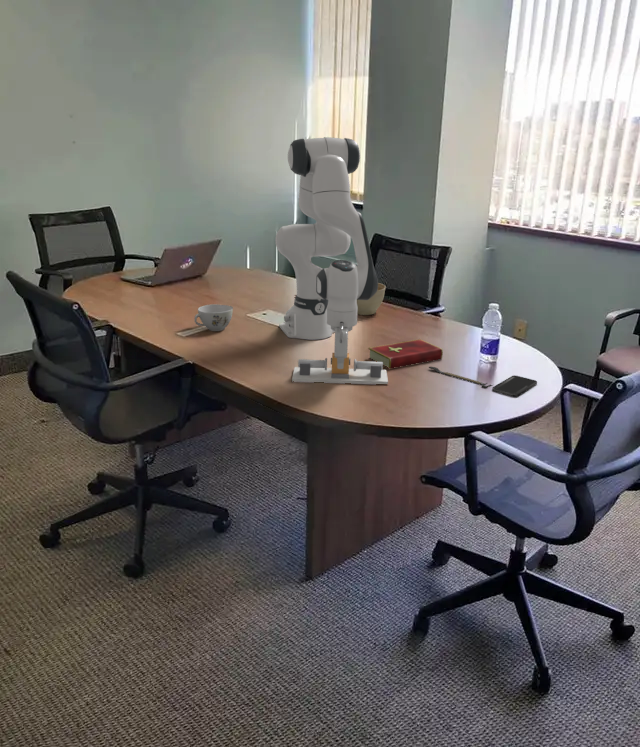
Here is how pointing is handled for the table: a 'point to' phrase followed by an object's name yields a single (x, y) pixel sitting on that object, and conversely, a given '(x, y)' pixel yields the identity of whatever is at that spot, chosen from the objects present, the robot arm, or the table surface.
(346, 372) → the block
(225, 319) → the teacup
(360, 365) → the shaft rig
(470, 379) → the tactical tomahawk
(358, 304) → the planter bowl
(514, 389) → the phone
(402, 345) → the hardcover book
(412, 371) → the table surface
